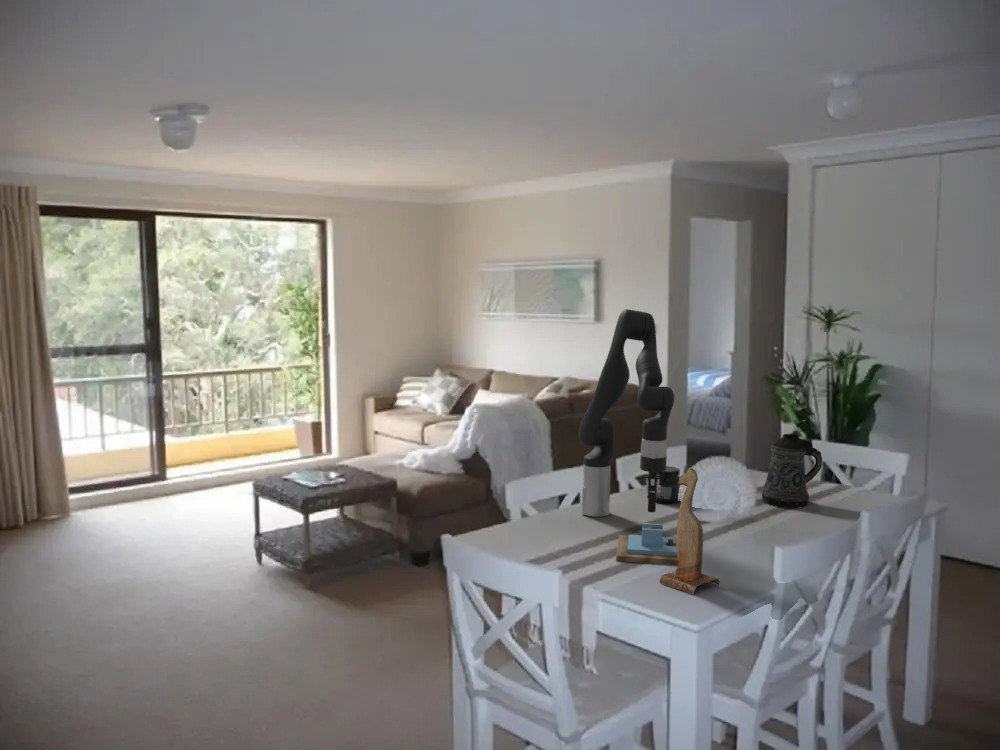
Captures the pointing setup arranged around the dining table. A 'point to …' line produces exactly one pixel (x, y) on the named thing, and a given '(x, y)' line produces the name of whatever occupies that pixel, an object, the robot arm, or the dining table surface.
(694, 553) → the bird sculpture
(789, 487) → the beer stein
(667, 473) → the supplement container
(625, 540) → the post board
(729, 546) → the dining table surface
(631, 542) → the flange plate
